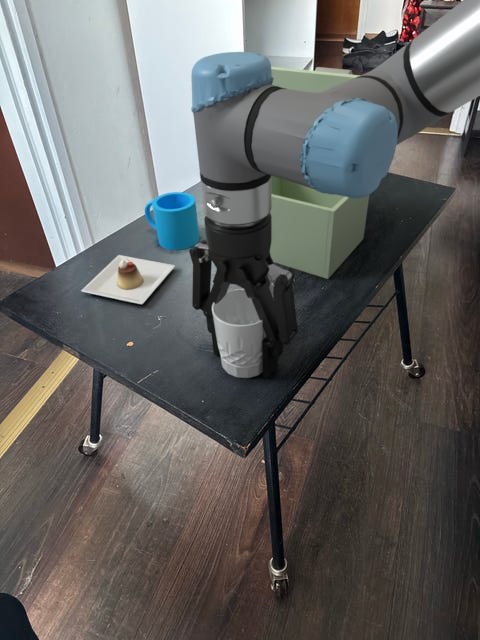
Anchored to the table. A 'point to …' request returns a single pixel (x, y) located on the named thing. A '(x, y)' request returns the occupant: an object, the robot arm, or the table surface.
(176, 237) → the mug
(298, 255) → the chest
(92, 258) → the table surface
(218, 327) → the white cup
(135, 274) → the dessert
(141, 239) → the table surface
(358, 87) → the robot arm
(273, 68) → the chest lid
